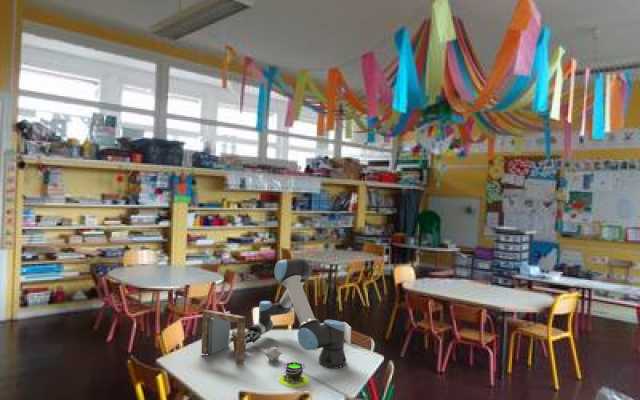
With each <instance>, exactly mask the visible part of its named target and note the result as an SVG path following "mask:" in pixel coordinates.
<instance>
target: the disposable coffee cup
mask: <svg viewBox="0 0 640 400" xmlns="http://www.w3.org/2000/svg"><path fill="white" fill-rule="evenodd" d="M248 329H249V328H246V327H245V339H246V338H248V337H247V336H248V333H249V332H248ZM232 334H233V342H232V343H233V352H234V353H236V351H237V327H236V328H233V329H232V332H231V335H232ZM246 349H247V344H245V345H244V353H245V352H246Z"/></svg>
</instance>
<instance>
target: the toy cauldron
mask: <svg viewBox="0 0 640 400" xmlns="http://www.w3.org/2000/svg"><path fill="white" fill-rule="evenodd" d="M296 358H297V361H298V362H297V361H293V359H294V357H293V356H292V357H291V358H290V360H292V361H287V362H286V363H284V364H283V365H282V367H283V369H284V372H285V374H283V375H281V376H279V378H278V381H279V383H280V384H281V385H284V386H287V387H295V388H296V387H302V386H305V385H307V384H308V383H309V378H308V377H307V376H306V375H304V374H303V373H304V369H306V365H305V364H304V363H303V362H299V360H300V359H299V358H298V357H297V356H296V357H295V359H296Z"/></svg>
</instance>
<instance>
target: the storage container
mask: <svg viewBox="0 0 640 400" xmlns="http://www.w3.org/2000/svg"><path fill="white" fill-rule="evenodd" d="M341 322H342V323H343V324H344V330H345V332H344V342H346V343H347V344H350V345H351V339H352V338H351V337H352V327H351V326H350V325H349V324H348V323H347V322H345V321H341ZM319 323H320V325H323V324H324V322H322V323H321V322H319Z"/></svg>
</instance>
